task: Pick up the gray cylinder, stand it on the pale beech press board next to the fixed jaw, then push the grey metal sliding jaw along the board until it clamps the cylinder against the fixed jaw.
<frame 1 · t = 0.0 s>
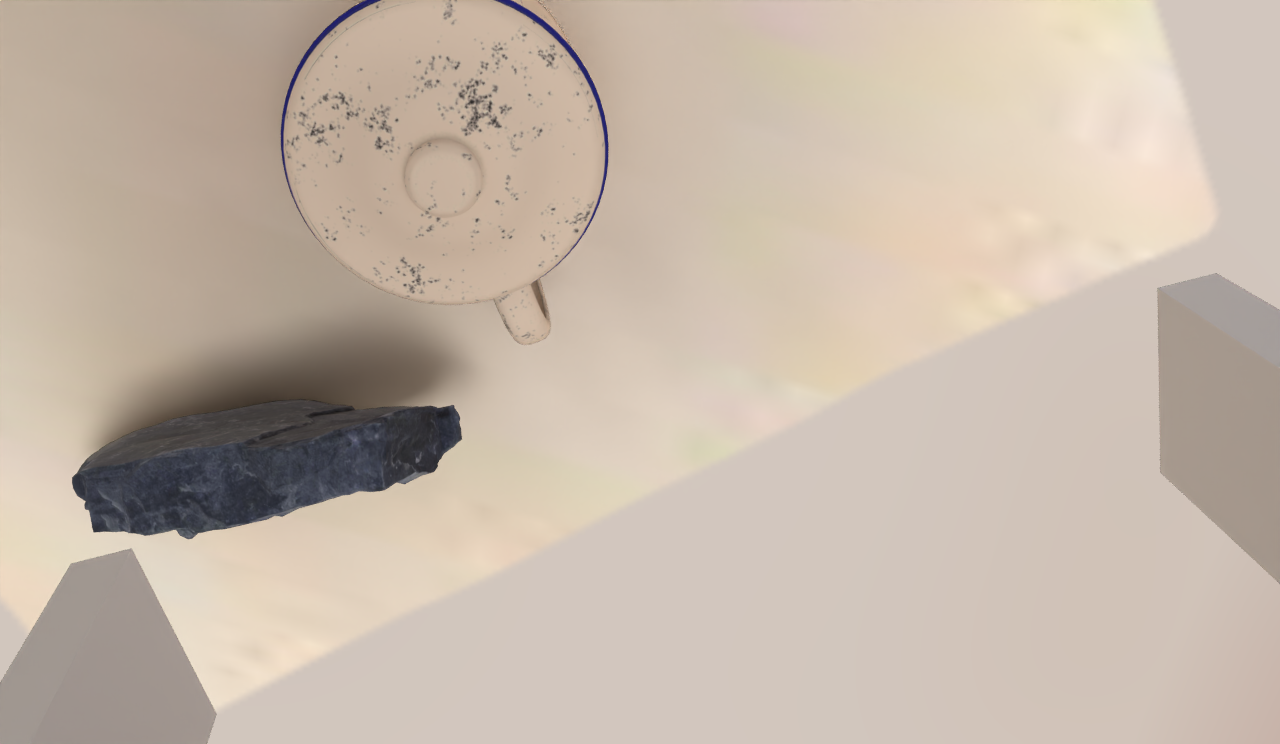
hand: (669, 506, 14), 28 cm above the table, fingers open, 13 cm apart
teacup with lid: (472, 132, 40), on the table
stone: (279, 395, 43), on the table
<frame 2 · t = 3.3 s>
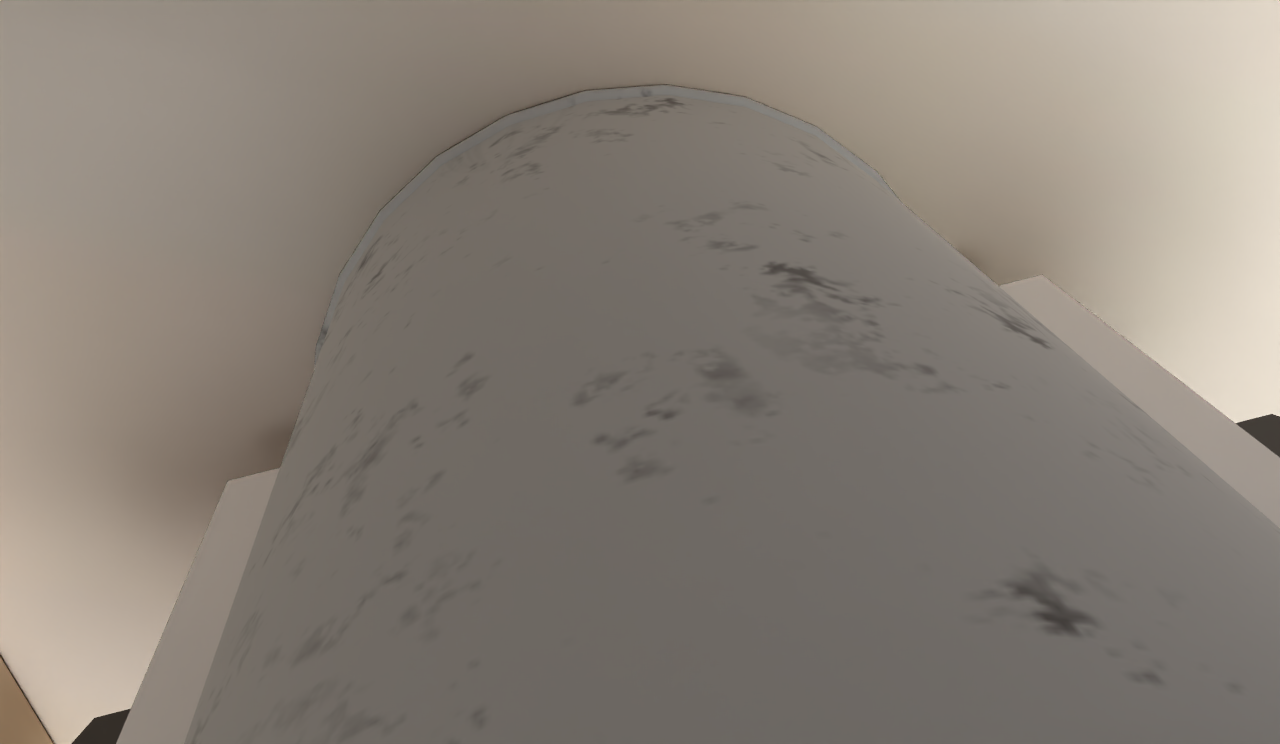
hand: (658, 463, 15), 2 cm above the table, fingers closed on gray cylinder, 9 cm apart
gray cylinder: (642, 402, 17), on the table, touching gripper
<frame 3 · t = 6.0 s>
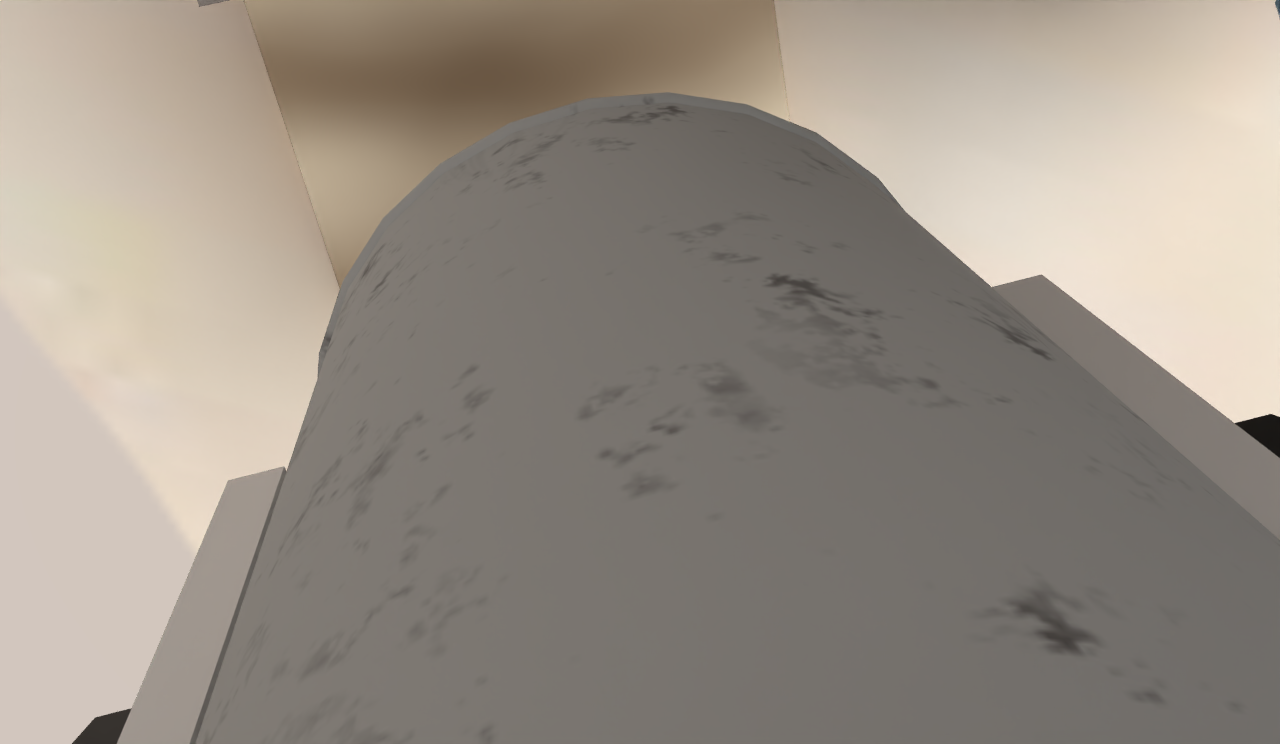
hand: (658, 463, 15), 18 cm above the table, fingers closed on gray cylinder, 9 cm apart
press: (577, 265, 32), on the table
gray cylinder: (644, 408, 17), point 16 cm above the table, touching gripper
when the fingers open (4 cm above the table, at t = 8.7 s): gray cylinder drops 1 cm, resting on press.
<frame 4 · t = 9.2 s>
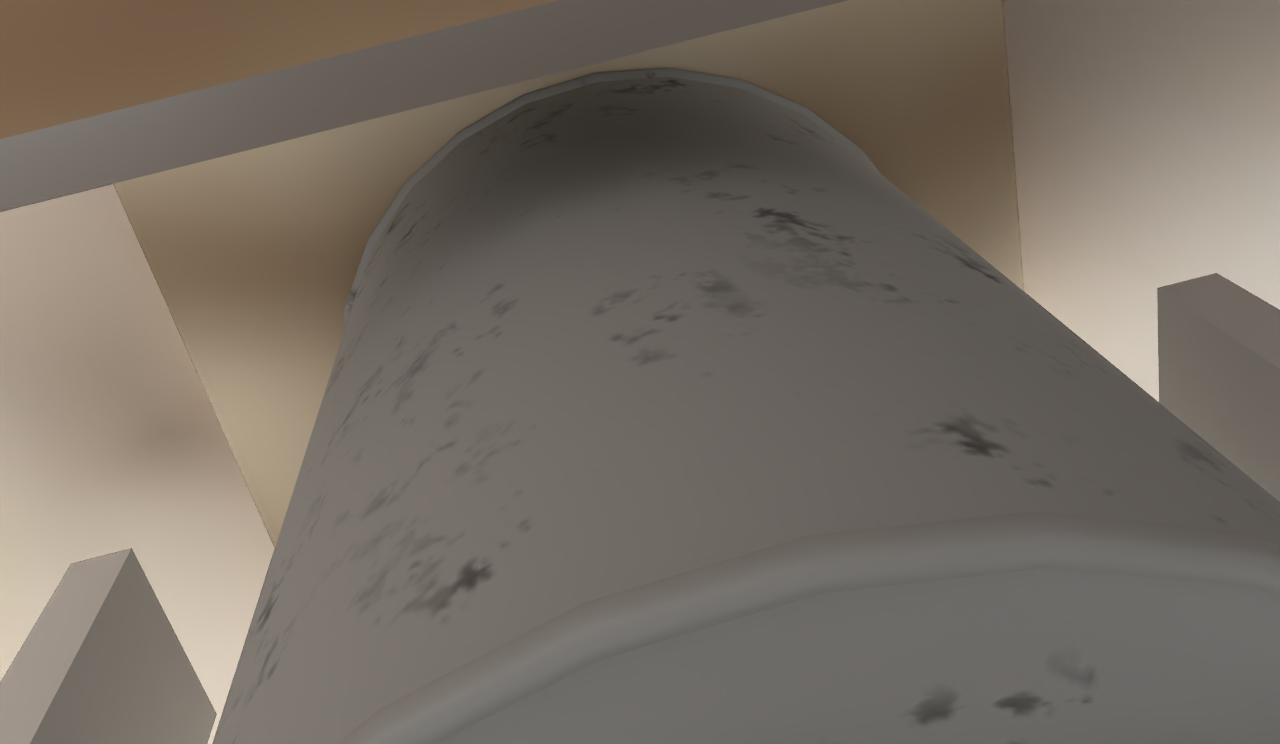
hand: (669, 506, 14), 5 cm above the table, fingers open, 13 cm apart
press: (668, 514, 20), on the table
gray cylinder: (644, 364, 18), point 1 cm above the table, touching press
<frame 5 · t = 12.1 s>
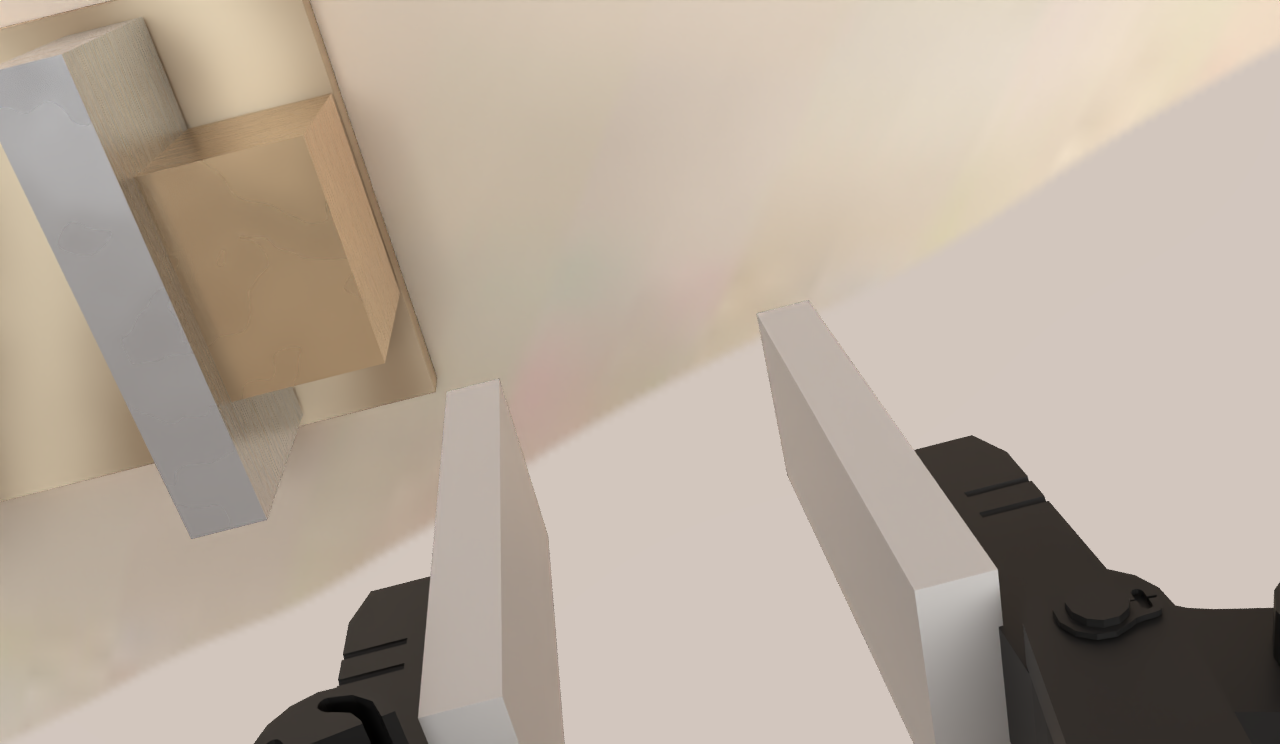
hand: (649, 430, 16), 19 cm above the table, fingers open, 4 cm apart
slide jaw: (242, 257, 29), point 4 cm above the table, slide at 0.0 cm
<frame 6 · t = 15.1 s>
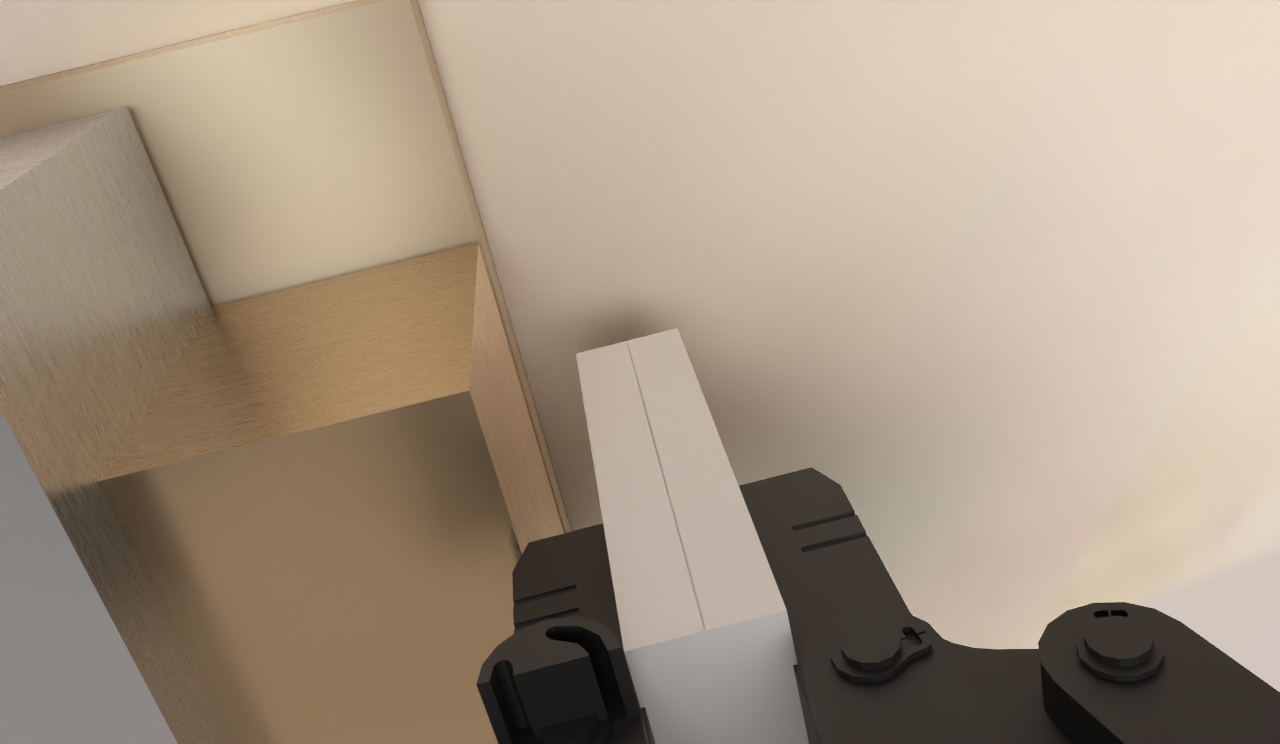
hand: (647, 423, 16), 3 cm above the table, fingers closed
slide jaw: (316, 575, 15), point 4 cm above the table, slide at 0.0 cm, touching gripper
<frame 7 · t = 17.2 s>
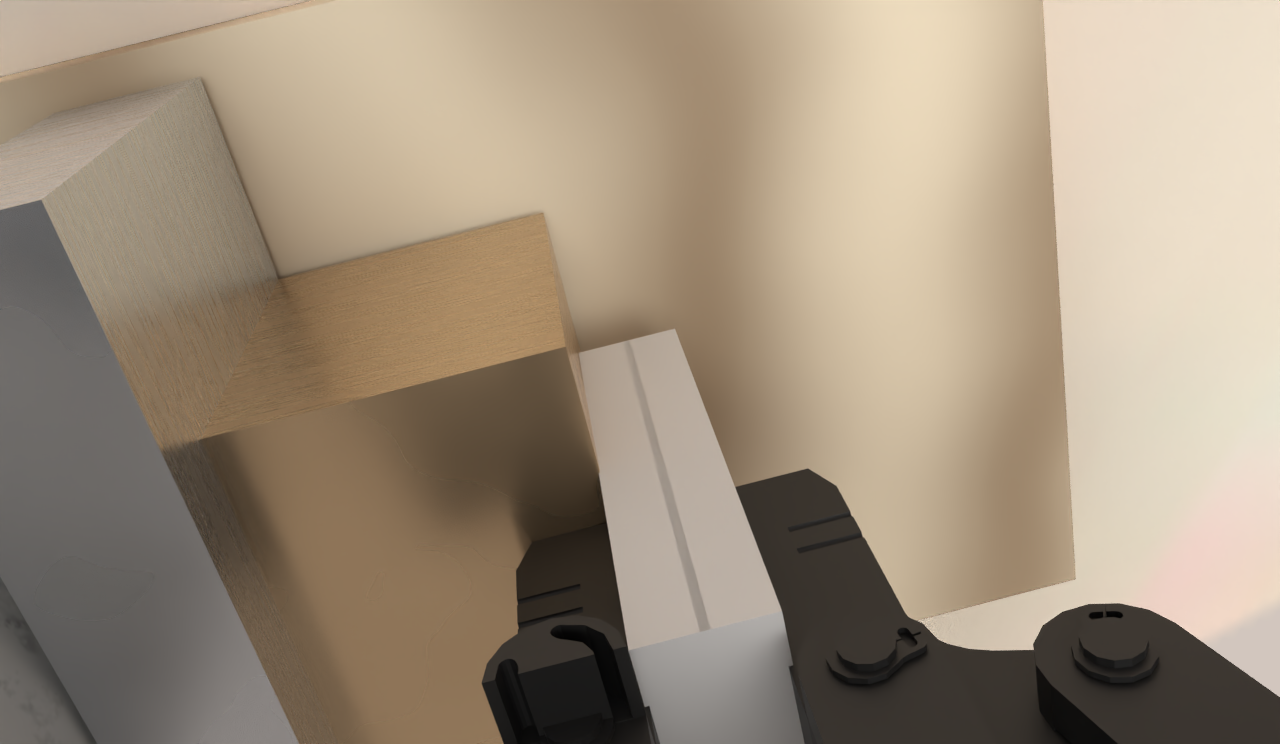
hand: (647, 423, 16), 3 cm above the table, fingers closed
slide jaw: (393, 540, 15), point 4 cm above the table, slide at 7.9 cm, touching gray cylinder, gripper
press: (230, 446, 19), on the table
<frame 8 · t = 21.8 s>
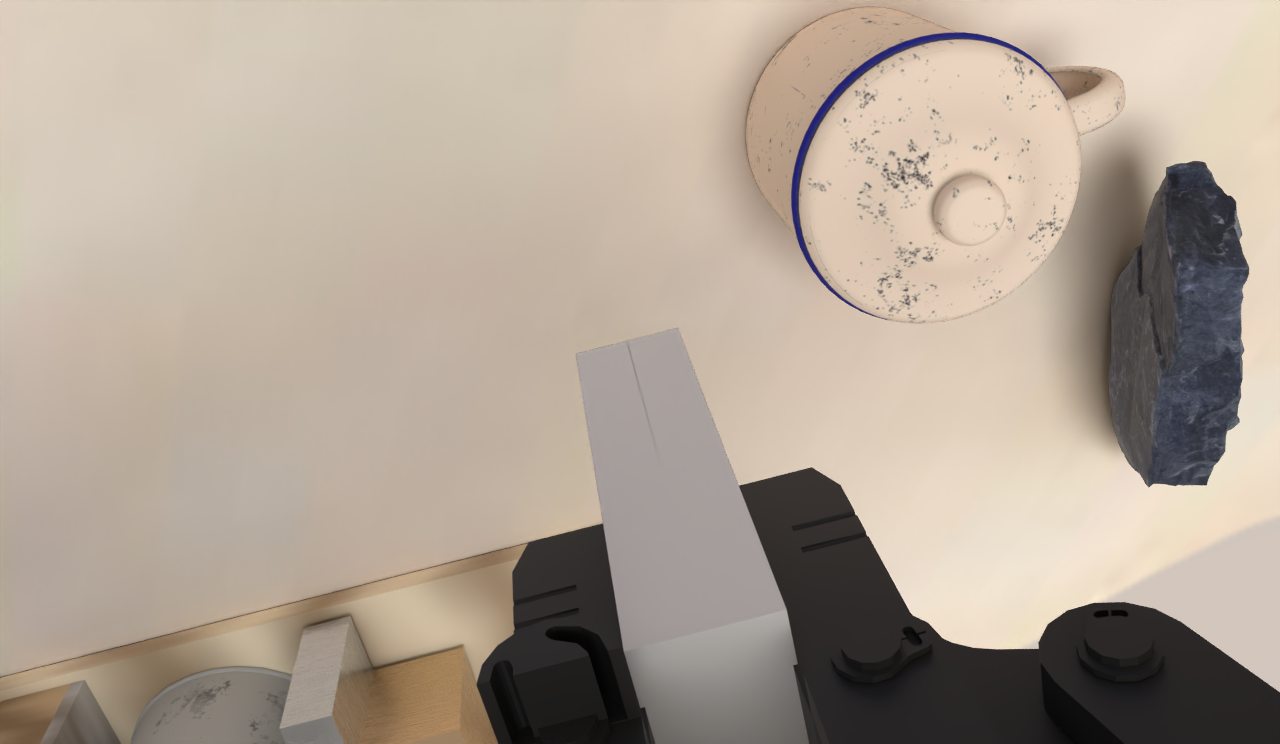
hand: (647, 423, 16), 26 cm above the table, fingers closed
press: (351, 713, 51), on the table
teacup with lid: (891, 110, 42), on the table
stone: (1105, 298, 47), on the table
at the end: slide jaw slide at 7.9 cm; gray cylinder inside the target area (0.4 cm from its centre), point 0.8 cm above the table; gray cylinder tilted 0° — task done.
